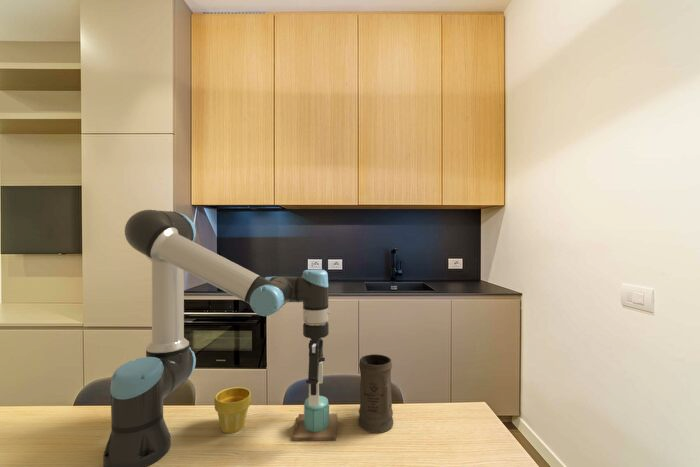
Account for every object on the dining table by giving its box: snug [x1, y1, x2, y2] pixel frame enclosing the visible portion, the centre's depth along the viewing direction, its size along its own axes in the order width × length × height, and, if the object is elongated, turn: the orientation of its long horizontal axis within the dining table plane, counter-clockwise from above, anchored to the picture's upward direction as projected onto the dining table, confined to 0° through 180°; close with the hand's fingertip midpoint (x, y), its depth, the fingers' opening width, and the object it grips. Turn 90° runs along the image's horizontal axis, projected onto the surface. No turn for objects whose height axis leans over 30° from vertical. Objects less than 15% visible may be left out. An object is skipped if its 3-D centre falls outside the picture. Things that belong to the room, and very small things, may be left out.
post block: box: [292, 413, 338, 442], centre depth 101 cm, size 12×12×7 cm
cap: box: [303, 395, 330, 432], centre depth 101 cm, size 7×7×7 cm
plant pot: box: [214, 386, 252, 434], centre depth 102 cm, size 10×10×10 cm
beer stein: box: [357, 353, 394, 434], centre depth 106 cm, size 15×11×20 cm
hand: (316, 393), depth 101 cm, fingers open, 13 cm apart
